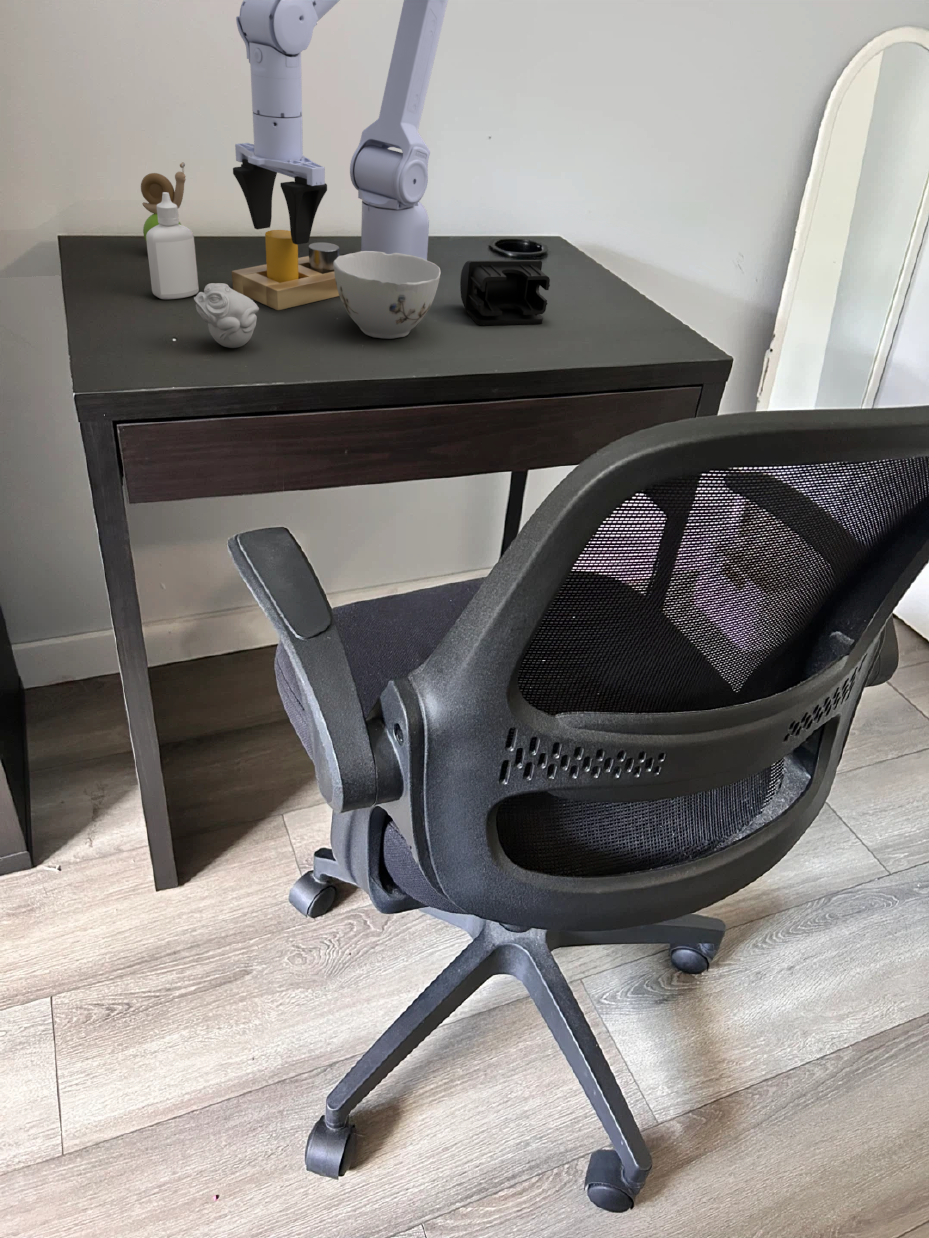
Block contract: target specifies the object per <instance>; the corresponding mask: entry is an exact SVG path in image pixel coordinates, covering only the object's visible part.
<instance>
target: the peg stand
mask: <svg viewBox="0 0 929 1238" xmlns="http://www.w3.org/2000/svg"><path fill="white" fill-rule="evenodd" d="M298 277H299V279H296V280H291V281H287V282H282V283H278V282H276V281H274V280H271V279H269V278H267V264H260V265H255V266H250V267H246V268H239V269H235V270H231V280H232V281H231V282H232V284H231V285H232V289H233V290H235V291H237V292H238V293H241V294H243V295H245V296H247V297H248V298H250V299H251V300H253V301H255V302H258V303H260V304H262V305H265V306H267V307H269V308H271V309H274V310H275V311H282V310H285V309H290V308H294V307H299V306H303V305H307V304H311V303H315V302H319V301H324V300H328V299H333V298H336V297H340V296H339V293H338V289H337V285H336V281H335V274H334V272H329V273H324V274H321V273H319V272H316V271H314V270H311V269H309V255H305V256H302V257H298Z"/></svg>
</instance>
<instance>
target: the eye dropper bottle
mask: <svg viewBox="0 0 929 1238" xmlns="http://www.w3.org/2000/svg"><path fill="white" fill-rule="evenodd" d="M156 207H157V216H158V223H159V225H157V226H155V227H153V228H151V229H150V230H149V231H148V232H147V234H146V240H145V242H146V241H147V242H146V251H147V258H148V265H149V266H148V269H149V276H150V285H151V292H152V294H153V296H155V297H156V298H159V299H160V300H179V299H186V298H189V297H190V298H191V297H192V296H193V297H194V295H197V294H198V293H199V292H200V291H199V290H200V289H199V288H200V287H199V278H198V277H199V276H198V265H197V255H196V245H195V236H194V233H193V231H192V229H191V228H189V227H187V226H185V225H183V224H181V225H180V224H178V223H179V222H180V218H179V208H178V206H177V205H176V204H174V203H172V202H171V199H170V196H169V193H168V192H163V194H162V202H161V203H159V204H157V206H156Z"/></svg>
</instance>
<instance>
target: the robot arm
mask: <svg viewBox="0 0 929 1238" xmlns="http://www.w3.org/2000/svg"><path fill="white" fill-rule="evenodd" d="M340 1H341V0H242V2H241V5H240V8H239V15H238V16H236V17H235V21H236V27H237V30H238V33H239V36H240V38H241V39H242V41H243V43H244V45H245V49H246V59H247V60H248V63H249V65H250V66H249V67H250V83H251V84H250V87H251V109H252V110H251V111H252V124H253V125H252V127H253V129H252V130H253V131H252V132H253V143H249V142H242V143H235V145H234V147H235V150H234V151H235V161H236V162H239V163H241V164H240V166H235V167H233V168H232V174H233V176H234V177H235V180H236V181H237V183H238V185H239V186H240V189H241V191H242V194H243V196H244V199H245V201H246V204H247V207H248V211H249V215H250V218H251V222H252V226H253V228H254V230H262V229H263V230H264V229H269V228H271V224H272V217H273V215H272V213H273V193H274V187H275V183H276V178H277V176H278V175H277V174H279V175H280V174H281V175H284V176H287V177H289V178H293V179H294V181H285V182H280V183H279V184H280V189H281V191H282V193H283V196H284V200H285V204H286V206H287V212H288V219H289V227H290V228H289V231H291V238H292V242H293V244H296V245H298V246H299V245H303V244H308V243H309V242H310V238H311V235H312V234H311V233H312V229H313V225H314V221H315V217H316V215H317V212H318V209H319V207H320V204H321V202H322V200H323V199H324V196H325V195H326V193H327V191H328V183H326V167H325V166H323V165H320V164H318V163H316V162H314V160H311V159H310V158H308V157H307V156H305V155H304V148H303V147H304V146H303V145H304V144H303V143H304V142H303V141H304V140H303V90H302V89H303V88H302V87H303V86H302V52H303V51H306V50H307V49H308V48H309V45H310V43H311V40H312V37H313V33H314V29H315V27H316V26H317V25H318V22H319V21H320V20H321V19H322V18H323V17H324V16H325V15H326V14H327V13H328V12H329V11H330V10H331V9H333V8H334V7H335V5H337V4H338V3H339V2H340ZM448 3H449V0H403V2H402V7H401V10H400V11H401V12H400V17H399V22H398V27H397V31H396V36H395V39H394V45H393V50H392V54H391V58H390V63H389V69H388V73H387V77H386V83H385V86H384V92H383V96H382V100H381V101H382V102H381V106H380V110H379V113H378V114H379V115H378V118H377V119H376V120H375V121H373V122H372V123H371V124H369V125H368V126H367V127H366V128H365V129H363V130H362V132H361V135H360V140H359V143H358V146H357V148H356V149H355V151H354V153H353V154H352V156H351V160H350V163H349V164H350V165H349V175H350V181H351V184H352V186H353V187H354V188H355V190H357V198H358V199H360V200H361V227H360V228H361V230H360V232H361V234H360V235H361V236H360V237H361V238H360V251H376V252H383V253H386V254H393V253H400V254H406V255H413V256H417V257H420V258H423V259H425V260H427V261H428V249H429V234H430V232H429V231H430V219H429V214H428V212H427V211H428V210H427V209H426V207H425V206H424V205H423V203H422V202H421V200H422V198H423V197H424V195H425V193H426V190H427V188H428V183H429V169H428V167H429V166H428V165H429V159H430V154H431V150H430V148H429V146H428V145H427V144H426V142H425V140H424V139H423V137H422V135H421V134H420V132H419V129H420V123H421V121H422V120H421V119H422V114H423V111H424V107H425V102H426V97H427V93H428V89H429V84H430V81H431V76H432V71H433V68H434V63H435V59H436V55H437V50H438V46H439V41H440V37H441V32H442V29H443V24H444V20H445V15H446V10H447V6H448ZM390 148H394V149H399V150H401V151H398V150H394V149H390Z"/></svg>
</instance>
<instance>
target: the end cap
mask: <svg viewBox="0 0 929 1238" xmlns="http://www.w3.org/2000/svg"><path fill="white" fill-rule="evenodd" d="M542 267H543V262H542V261H541V260H540V259H510V260H509V259H508V260H507V259H503V260H501V259H497V260H493V259H492V260H491V259H490V260H467V261H466V262H464V264H463V266H462V269H461V273H460V279H459V280H460V281H459V282H460V283H459V287H460V288H459V289H460V290H459V291H460V298H461V302H462V305H463V307H464V309H465V310H466V312H467V314H468V316H469V317H470V319H472V320H473V321H474V322H475V323H476V324H477V325H478V326H508V325H509V326H511V325H512V326H513V325H539V324H540V325H541V324H543V322H544V317H543V316H542V315H543V314H545V312H546V310H547V305H548V300H547V298H546V297H544V296H543V295H542V294H541V293H540V288H542V289H543V290H544V291H549V289H550V286H551V284H550V281H551V279H550V277H549V276H548V275H547V274H545V273H544V271H542Z"/></svg>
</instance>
